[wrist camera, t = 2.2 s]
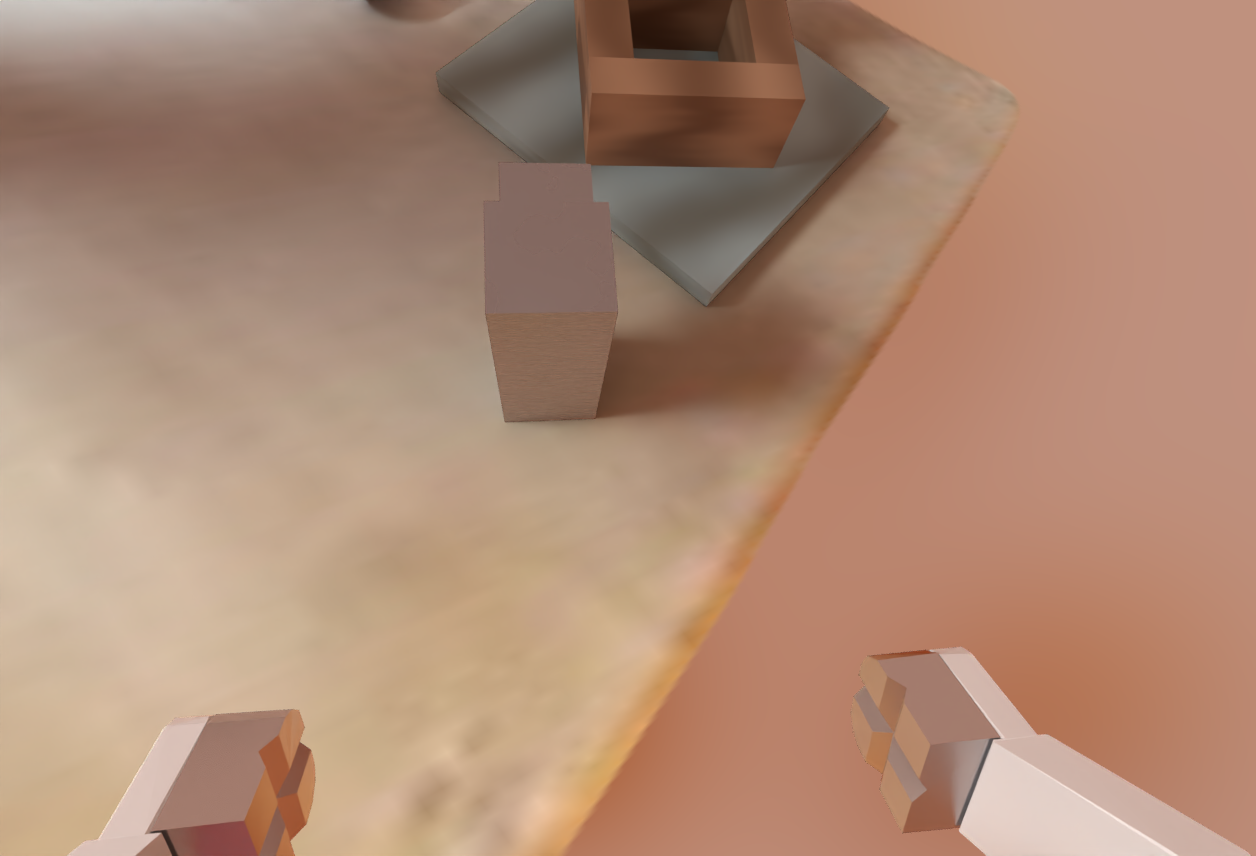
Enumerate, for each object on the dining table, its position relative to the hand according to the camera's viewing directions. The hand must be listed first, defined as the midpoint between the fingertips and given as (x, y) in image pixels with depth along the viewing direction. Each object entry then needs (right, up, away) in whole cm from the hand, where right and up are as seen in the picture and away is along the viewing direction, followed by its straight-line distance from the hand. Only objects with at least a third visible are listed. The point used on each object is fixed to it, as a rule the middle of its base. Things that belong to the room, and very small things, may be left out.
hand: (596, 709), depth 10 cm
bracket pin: (-3, +6, +21) cm, 22 cm away
